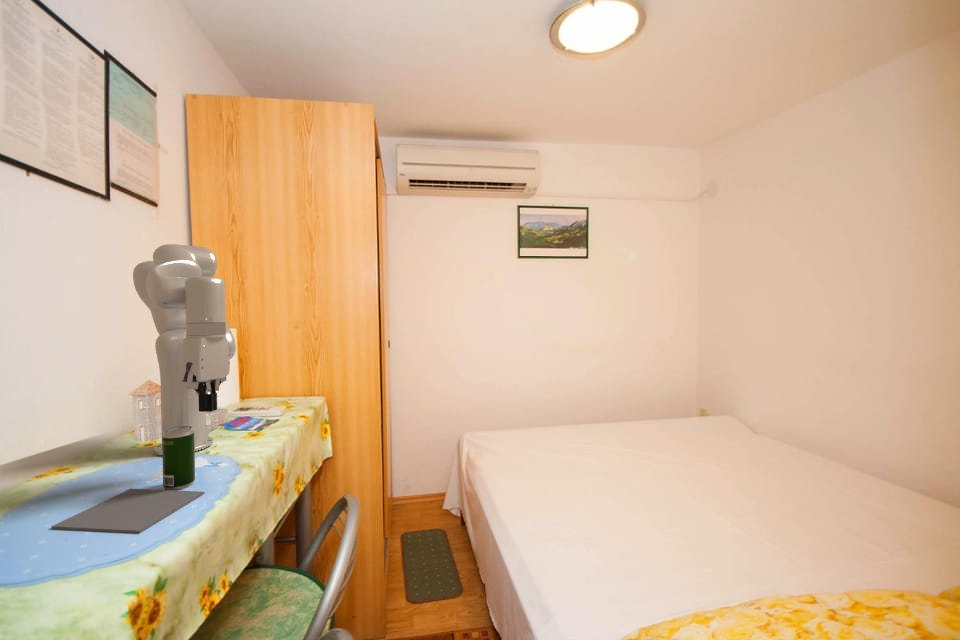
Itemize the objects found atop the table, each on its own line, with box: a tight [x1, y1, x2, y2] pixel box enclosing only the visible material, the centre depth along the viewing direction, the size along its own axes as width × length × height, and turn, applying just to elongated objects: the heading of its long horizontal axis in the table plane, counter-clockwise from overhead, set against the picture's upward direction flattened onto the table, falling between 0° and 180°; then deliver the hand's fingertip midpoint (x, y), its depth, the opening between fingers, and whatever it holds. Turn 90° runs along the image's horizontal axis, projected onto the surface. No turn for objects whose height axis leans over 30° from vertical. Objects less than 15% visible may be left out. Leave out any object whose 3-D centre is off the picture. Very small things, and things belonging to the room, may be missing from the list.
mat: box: [51, 488, 205, 534], centre depth 73 cm, size 14×16×1 cm
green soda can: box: [161, 426, 196, 491], centre depth 83 cm, size 5×5×12 cm
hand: (208, 410), depth 90 cm, fingers closed
